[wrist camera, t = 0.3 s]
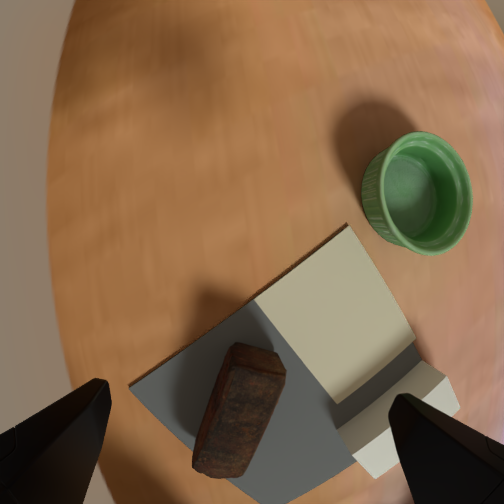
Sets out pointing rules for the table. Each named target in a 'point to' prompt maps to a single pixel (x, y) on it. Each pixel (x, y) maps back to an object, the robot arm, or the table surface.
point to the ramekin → (418, 194)
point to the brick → (238, 411)
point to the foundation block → (377, 424)
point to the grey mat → (298, 367)
